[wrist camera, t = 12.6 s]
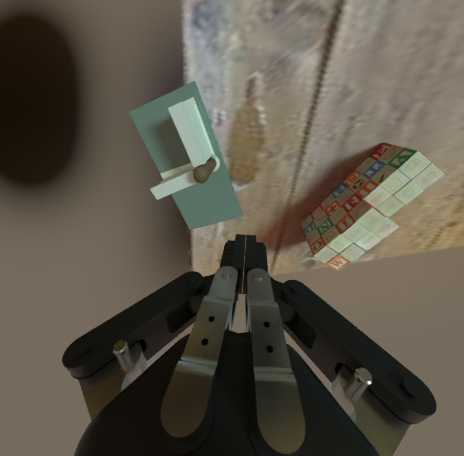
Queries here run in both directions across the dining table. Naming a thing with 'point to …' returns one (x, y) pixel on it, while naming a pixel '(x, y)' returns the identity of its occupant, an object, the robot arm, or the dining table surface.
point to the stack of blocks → (367, 204)
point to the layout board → (186, 159)
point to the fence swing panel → (174, 183)
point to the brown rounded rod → (204, 171)
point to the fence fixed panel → (191, 132)
